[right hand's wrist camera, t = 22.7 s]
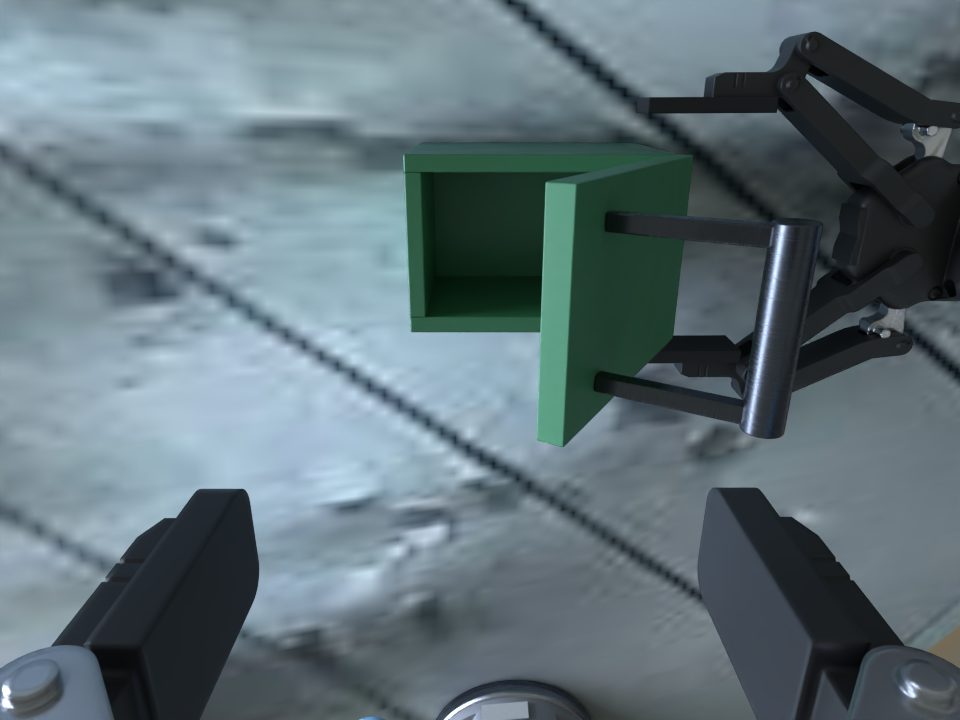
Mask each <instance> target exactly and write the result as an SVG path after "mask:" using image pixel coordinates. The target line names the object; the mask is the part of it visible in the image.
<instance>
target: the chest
mask: <svg viewBox="0 0 960 720" xmlns="http://www.w3.org/2000/svg"><path fill="white" fill-rule="evenodd" d="M667 155H677V154H675V153H671V152H667V151H663V150H659V149H655V148H651V147H648V146H644V145H640V144H636V143H420V144H419V145H417V146H416V147H414V148H413V149H411V150H410V151H408V152H407V153H405V154H404V155H403V163H404V172H405V173H404V187H405V212H406V237H407V262H408V286H409V311H410V331H411V332H540V331H541V302H542V274H543V245H544V217H545V188H546V182H547V181H552V180H556V179H561V178H566V177H570V176H575V175H579V174H584V173H589V172H593V171H598V170H603V169H607V168H612V167H616V166H621V165H626V164H630V163H635V162H640V161H644V160H649V159H653V158H658V157H663V156H667Z"/></svg>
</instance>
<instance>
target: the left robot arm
mask: <svg viewBox="0 0 960 720" xmlns="http://www.w3.org/2000/svg"><path fill="white" fill-rule="evenodd" d="M806 74H808V75H810V76H812V77H814V78H815V79H817V80H819V81H820V82H822V83H824V84H825V85H827V86H829V87H831V88H832V89H834V90H836V91H837V92H839V93H841V94H842V95H844V96H846V97H848V98H849V99H851V100H853V101H854V102H856V103H858V104H859V105H861V106H863V107H865V108H866V109H868V110H870V111H871V112H873V113H875V114H876V115H878V116H880V117H882V118H884V119H886V120H888V121H891V122H894V123H898V124H903V125H902V126H901V129H900V131H901V133H902V134H903V137H904V138H905V139H906V140H908V141H910V142H912V143H913V144H914V146H915V154H914V155H912V156H910V157H907V158H906V159H904V160H902V161H901V162H899V163H898V164H896V165H895V166H892V165H891V164H890V163H888V162H887V161H885V160H883V159H881V158H880V157H879V156H878V155H877V154H876V153H875V152H874V151H873V150H872V149H871V148H870V147H869V146H868V145H867V144H866V143H865V141H864V140H863V139H862V138H861V137H860V136H859V135H858V134H857V133H856V132H855V131H854V130H853V129H852V128H851V126H850V125H849V124H848V123H847V122H846V121H845V120H844V119H843V118H842V117H841V116H840V115H839V114H838V113H837V111H836V110H835V109H834V108H833V107H832V106H831V105H830V104H829V103H828V102H827V101H826V100H825V99H824V98H823V96H822V95H821V94H820V93H819V92H818V91H817V90H816V89H815V88H814V87H813V86H812V85H811V84H810V83H809V81H808V80H807V79H806V78H805V76H806ZM777 109H778V110H779V111H780V112H781V113H782V114H783V115H784V116H785V117H786V118H787V119H788V120H789V121H790V122H791V123H792V124H793V125H794V126H795V127H796V128H797V130H798V131H799V132H800V133H801V134H802V135H803V136H804V137H805V138H806V139H807V140H808V141H809V142H810V143H811V144H812V145H813V146H814V147H815V148H816V149H817V150H818V151H819V152H820V153H821V154H822V155H823V157H824V158H825V159H826V160H827V161H828V162H829V163H830V164H831V165H832V166H833V167H834V168H835V169H836V170H837V174H838V176H839V177H840V178H841V179H842V180H843V181H844V182H845V183H846V184H847V185H848V186H849V187H850V188H851V189H852V190H853V191H854V193H853V194H852V195H851V197H850V198H849V200H848V201H847V203H846V204H842V206H841V211H840V216H839V220H840V233H839V235H838V237H837V240H836V242H835V244H834V248H833V253H832V258H833V259H836V265H837V267H835V268H834V269H833V270H831V271H830V272H829V273H827V274H826V275H824V276H823V277H822V278H820V279H819V280H818V282H817V285H816V287H815V288H813V289H812V290H811V292H810V298H809V303H808V308H807V314H806V319H805V324H804V330H803V335H802V340H801V345H802V344H803V343H805V342H806V341H808V340H809V339H811V338H812V337H813V336H815V335H816V334H818V333H819V332H821V331H822V330H823V329H825V328H826V327H828V326H829V325H831V324H832V323H834V322H835V321H836V320H838V319H839V318H841V317H842V316H844V315H845V314H847V313H850V312H856V311H859V310H860V309H862V308H863V307H865V306H866V305H868V304H869V303H871V302H872V301H873V300H875V301H876V302H878V303H880V308H879V310H878V311H877V312H876V313H875V314H874V315H872V316H869V317H863V318H861V319H860V320H859V325H857V326H852V327H848V328H844V329H842V330H839V331H836V332H834V333H832V334H830V335H827V336H825V337H823V338H820V339H818V340H816V341H814V342H811V343H809V344H807V345H804V346H802V347H800V351H799V356H798V362H797V367H796V372H795V378H794V383H793V388H792V392H794V391H796V390H799V389H801V388H803V387H806V386H808V385H810V384H813V383H815V382H817V381H820V380H822V379H824V378H827V377H829V376H831V375H834V374H836V373H839V372H841V371H843V370H846V369H848V368H850V367H853V366H855V365H857V364H860V363H862V362H864V361H867V360H869V359H871V358H880V357H889V356H898V355H903V354H906V353H907V352H909V351H910V350H911V348H912V345H913V341H912V339H911V338H910V337H908V336H906V335H905V334H903V331H904V323H905V315H906V308H908V307H910V306H912V305H914V304H917V303H920V302H923V301H960V164H951V163H949V162H947V161H946V160H944V159H943V155H944V152H945V149H946V146H947V143H948V140H949V138H950V135H951V132H952V129H954V128H960V103H954V102H945V101H937V100H930V99H929V98H927V97H925V96H924V95H922V94H920V93H919V92H917V91H915V90H914V89H912V88H910V87H909V86H907V85H905V84H904V83H902V82H900V81H899V80H897V79H895V78H894V77H892V76H890V75H889V74H887V73H885V72H884V71H882V70H880V69H879V68H877V67H875V66H874V65H872V64H871V63H869V62H867V61H866V60H864V59H862V58H861V57H859V56H857V55H856V54H854V53H852V52H851V51H849V50H847V49H846V48H844V47H842V46H841V45H839V44H837V43H836V42H834V41H832V40H831V39H829V38H827V37H826V36H824V35H822V34H821V33H818V32H810V33H805V34H800V35H796V36H791V37H788V38H786V39H785V40H784V41H783V42H782V43H781V46H780V55H779V57H778V59H777V62H776V63H775V65H774V66H773V68H772V69H770V70H769V71H768V72H725V73H717V74H714V75H712V76H709V77H707V78H706V82H705V91H704V97H649V98H637V110H636V113H777ZM851 283H854V284H855V285H853V286H848V285H850V284H851ZM753 335H754V331H753V332H752V333H751V334H749V335H748V336H746V337H745V338H744V339H742V340H741V341H740V342H738V343H737V344H734V343H733V342H732V341H731V340H729V339H728V338H727V337H726V336H725V335H711V336H673V338H672V339H671V340H670V341H669V342H668V343H667V344H666V345H665V346H664V347H663V348H662V349H661V350H660V351H659V352H658V353H657V354H656V355H655V356H654V357H653V358H652V359H651V360H650V361H649V362H648V363H674V366H675V367H676V368H677V370H678V371H679V372H680V374H682V375H685V376H687V377H731V379H732V381H731V386H732V388H733V389H734V390H735V392H736V393H737V394H738V395H739V396H740V397H741V398H742V399H743V398H744V392H745V385H746V379H747V373H748V366H749V360H750V354H751V348H752V341H753ZM360 720H384V719H382V718H379V717H366V718H362V719H360ZM436 720H591V718H590V716H589V714H588V713H587V711H586V710H585V709H584V708H583V706H582V705H581V704H580V703H579V702H577V701H576V700H575V699H574V698H572V697H571V696H570V695H568V694H566V693H565V692H563V691H561V690H559V689H557V688H554V687H552V686H549V685H546V684H542V683H538V682H532V681H524V680H506V681H497V682H492V683H488V684H484V685H481V686H478V687H475V688H473V689H470V690H468V691H466V692H464V693H463V694H461V695H459V696H458V697H456V698H455V699H454V700H452V701H451V702H450V703H449V704H448V705H447V706H446V707H445V708H444V709H443V710H442V711H441V713H440V714H439V716H438V717H437V719H436Z"/></svg>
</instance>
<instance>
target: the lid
mask: <svg viewBox="0 0 960 720" xmlns="http://www.w3.org/2000/svg"><path fill="white" fill-rule="evenodd" d="M692 162H693V156H692V155H667V156H663V157H658V158H653V159H649V160H644V161H640V162H635V163H630V164H626V165H621V166H616V167H612V168H607V169H603V170H598V171H593V172H589V173H584V174H579V175H575V176H570V177H566V178H561V179H556V180H552V181H547V182H546V188H545V217H544V245H543V274H542V302H541V331H540V359H539V388H538V416H537V440H538V441H542V442H546V443H549V444H553V445H557V446H560V447H564V446H565V445H566V444H567V443H568V442H569V441H570V440H571V439H572V438H573V437H574V436H575V435H576V434H577V433H578V432H579V431H580V430H581V429H582V428H583V427H584V426H585V425H586V424H587V423H588V422H589V421H590V420H591V419H592V418H593V417H594V416H595V415H596V414H597V413H598V412H599V411H600V410H601V409H602V408H603V407H604V406H605V405H606V404H607V403H608V402H609V401H610V400H611V399H612V398H613V397H614V396H616V397H621V398H625V399H630V400H634V401H639V402H643V403H648V404H652V405H656V406H661V407H665V408H670V409H674V410H679V411H683V412H688V413H692V414H697V415H701V416H706V417H710V418H715V419H719V420H723V421H728V422H732V423H737V424H739V426H740V429H741V430H742V431H743V432H745V433H747V434H749V435H751V436H754V437H758V438H764V439H775V438H779V437H781V436H782V435H783V434H784V431H785V426H786V420H787V415H788V410H789V404H790V399H791V394H792V388H793V383H794V378H795V372H796V367H797V362H798V356H799V351H800V346H801V340H802V335H803V330H804V324H805V319H806V314H807V308H808V303H809V298H810V292H811V287H812V282H813V276H814V271H815V266H816V260H817V255H818V250H819V244H820V239H821V234H822V228H823V223H821V222H818V221H814V220H808V219H797V218H780V219H774V220H772V222H771V223H763V222H751V221H739V220H726V219H714V218H702V217H690V216H687V207H688V198H689V189H690V180H691V171H692ZM684 240H691V241H701V242H711V243H721V244H731V245H741V246H751V247H762V248H767V253H766V259H765V266H764V272H763V278H762V285H761V291H760V297H759V304H758V310H757V316H756V322H755V329H754V335H753V341H752V348H751V354H750V360H749V366H748V373H747V379H746V385H745V392H744V398H743V400H741V399H736V398H731V397H726V396H722V395H717V394H712V393H707V392H702V391H697V390H692V389H688V388H683V387H678V386H673V385H668V384H663V383H659V382H654V381H649V380H644V379H639V378H634V376H635V375H636V374H637V373H638V372H639V371H640V370H641V369H642V368H643V367H644V366H645V365H646V364H647V363H648V362H649V361H650V360H651V359H652V358H653V357H654V356H655V355H656V354H657V353H658V352H659V351H660V350H661V349H662V348H663V347H664V346H665V345H666V344H667V343H668V342H669V341H670V340H671V339H672V338H673V332H674V323H675V314H676V305H677V296H678V287H679V278H680V269H681V260H682V251H683V243H684Z"/></svg>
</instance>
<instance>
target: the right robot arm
mask: <svg viewBox="0 0 960 720" xmlns="http://www.w3.org/2000/svg"><path fill="white" fill-rule="evenodd" d="M105 578H106V580H105V582H102V583H101V584H100V585H99V586H98V588H97V589H96V590H95V591H94V593H93V594H92V595H91V596H90V598H89V599H88V600H87V601H86V603H85V604H84V605H83V607H82V608H81V609H80V610H79V612H78V613H77V614H76V615H75V617H74V618H73V619H72V620H71V622H70V623H69V624H68V625H67V627H66V628H65V629H64V631H63V632H62V633H61V634H60V636H59V637H58V638H57V639H56V641H55V642H54V643H53V644H52V646H51V647H48V648H44V649H40V650H37V651H34V652H31V653H28V654H26V655H24V656H22V657H19V658H17V659H16V660H14V661H12V662H10V663H8V664H7V665H5V666H4V667H2V668H1V669H0V720H200V718H201V715H202V713H203V711H204V709H205V707H206V704H207V702H208V700H209V698H210V696H211V693H212V691H213V689H214V687H215V685H216V682H217V680H218V678H219V676H220V674H221V671H222V669H223V667H224V665H225V663H226V660H227V658H228V656H229V654H230V652H231V649H232V647H233V645H234V643H235V641H236V639H237V636H238V634H239V632H240V630H241V628H242V625H243V623H244V621H245V619H246V617H247V614H248V612H249V610H250V608H251V606H252V603H253V601H254V599H255V595H256V592H257V587H258V580H259V560H258V554H257V547H256V540H255V533H254V527H253V520H252V513H251V506H250V500H249V496H248V494H247V492H246V491H245V490H244V489H199V490H197V491H196V492H195V493H194V494H193V496H192V497H191V499H190V500H189V501H188V503H187V504H186V505H185V507H184V508H183V509H182V511H181V512H180V513H179V515H178V516H177V518H164V519H163V520H161V521H160V522H158V523H157V524H156V525H154V526H153V527H151V528H150V529H148V530H147V531H145V532H144V533H143V534H141V535H140V536H138V537H137V538H136V540H135V541H134V542H133V543H132V545H131V546H130V547H129V548H128V550H127V551H126V552H125V553H124V555H123V556H122V557H121V558H120V563H117V564H116V565H115V566H114V567H113V569H112V570H111V571H110V572H109V574H108V575H107V576H106V577H105ZM698 581H699V587H700V592H701V595H702V598H703V601H704V603H705V605H706V607H707V610H708V612H709V614H710V616H711V618H712V621H713V623H714V625H715V627H716V630H717V632H718V634H719V636H720V638H721V641H722V643H723V645H724V647H725V650H726V652H727V654H728V656H729V658H730V661H731V663H732V665H733V667H734V670H735V672H736V674H737V676H738V678H739V681H740V683H741V685H742V687H743V690H744V692H745V694H746V696H747V698H748V701H749V703H750V705H751V707H752V710H753V712H754V714H755V716H756V718H757V720H960V669H959V668H958V667H956V666H955V665H953V664H952V663H950V662H948V661H946V660H944V659H943V658H941V657H938V656H936V655H934V654H932V653H929V652H926V651H923V650H920V649H916V648H912V647H908V646H904V644H903V643H902V642H901V640H900V639H899V638H898V637H897V635H896V634H895V633H894V632H893V630H892V629H891V628H890V626H889V625H888V624H887V623H886V621H885V620H884V619H883V617H882V616H881V615H880V614H879V612H878V611H877V610H876V609H875V607H874V606H873V605H872V603H871V602H870V601H869V600H868V598H867V597H866V596H865V595H864V593H863V592H862V591H861V589H860V588H859V587H858V586H857V584H856V583H855V582H854V581H851V580H850V575H849V574H848V573H847V572H846V570H845V569H844V568H843V566H842V565H841V564H840V563H839V562H836V560H835V556H834V555H833V554H832V552H831V551H830V550H829V549H828V547H827V546H826V545H825V543H824V542H823V541H822V540H821V538H820V537H819V536H818V535H817V534H815V533H814V532H812V531H811V530H809V529H808V528H807V527H805V526H804V525H802V524H801V523H799V522H798V521H797V520H795V519H794V518H792V517H780V516H779V515H778V514H777V512H776V511H775V510H774V508H773V507H772V505H771V504H770V503H769V501H768V500H767V499H766V497H765V496H764V494H763V493H762V492H761V491H760V490H759V489H758V488H712V489H711V490H710V492H709V494H708V497H707V502H706V509H705V516H704V523H703V529H702V536H701V543H700V550H699V557H698Z"/></svg>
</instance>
